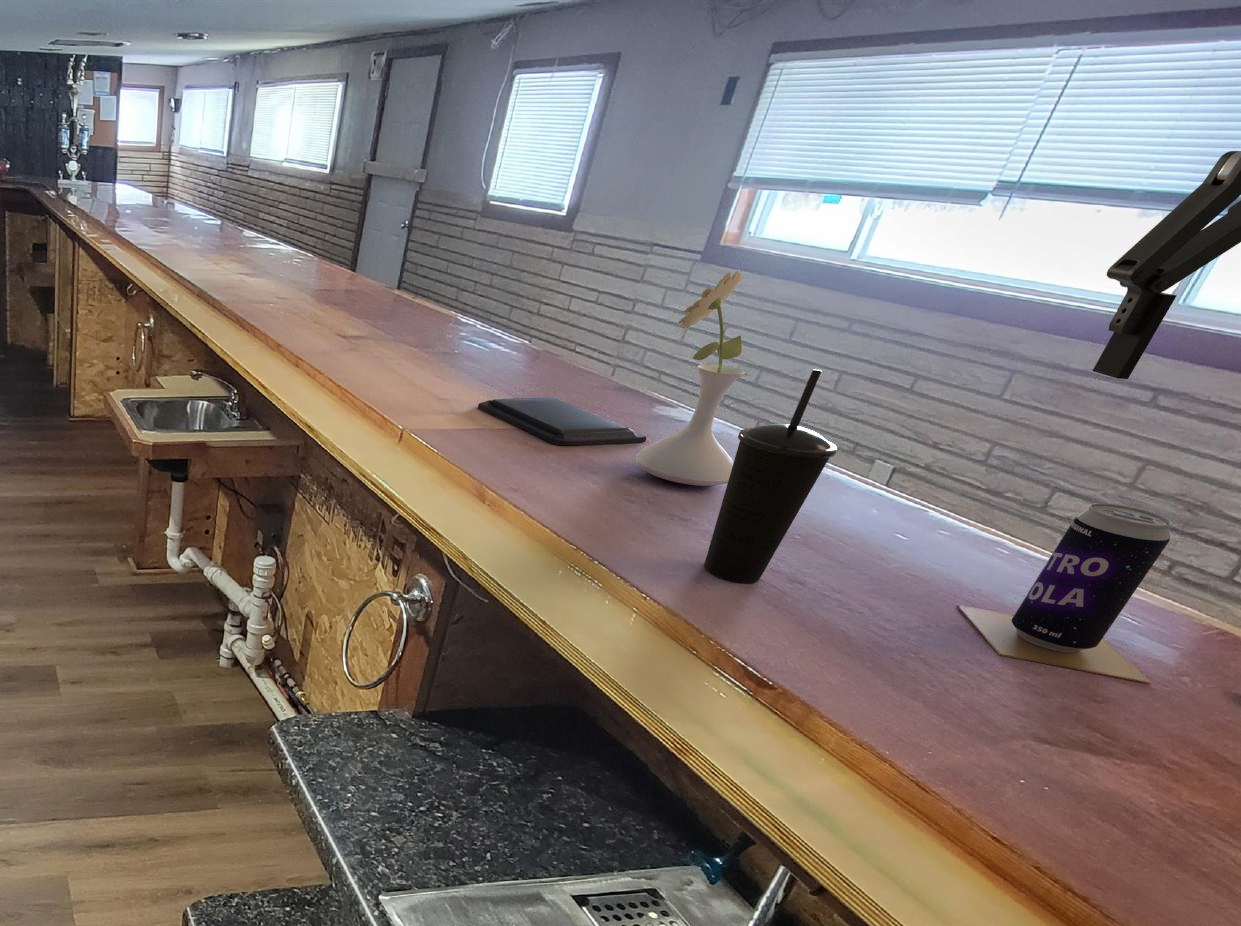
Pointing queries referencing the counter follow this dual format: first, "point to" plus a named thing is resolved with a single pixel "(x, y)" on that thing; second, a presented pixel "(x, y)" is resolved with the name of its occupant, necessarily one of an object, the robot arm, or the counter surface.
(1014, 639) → the cork pad
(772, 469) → the drinking cup
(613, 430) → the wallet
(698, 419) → the flower in vase
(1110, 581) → the beverage can
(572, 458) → the counter surface
